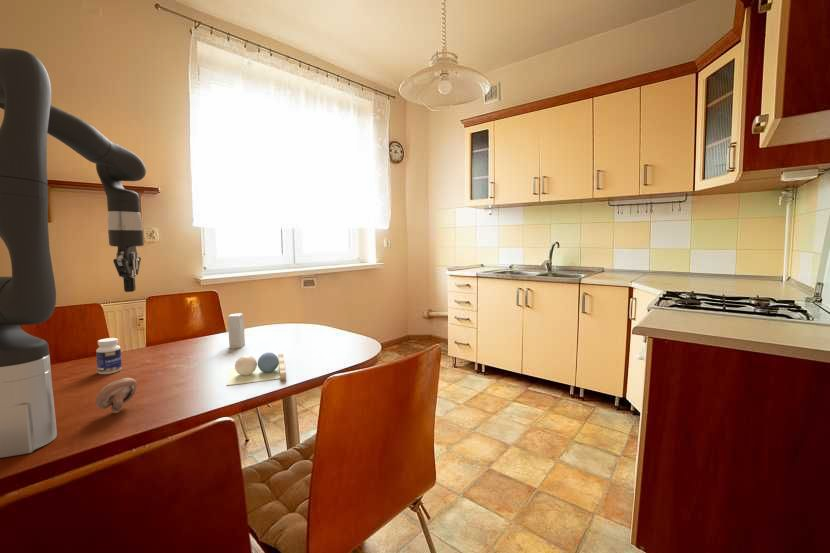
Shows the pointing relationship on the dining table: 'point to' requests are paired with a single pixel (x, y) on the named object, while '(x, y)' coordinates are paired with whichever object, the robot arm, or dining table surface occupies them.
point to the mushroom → (116, 394)
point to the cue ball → (245, 365)
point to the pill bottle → (108, 356)
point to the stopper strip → (282, 367)
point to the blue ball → (268, 362)
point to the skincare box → (236, 330)
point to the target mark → (252, 376)
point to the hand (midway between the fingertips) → (130, 291)
